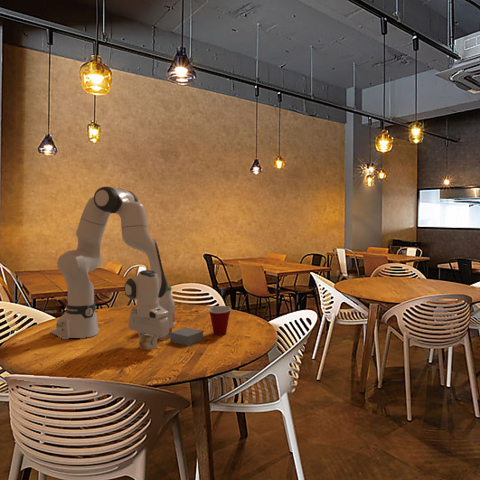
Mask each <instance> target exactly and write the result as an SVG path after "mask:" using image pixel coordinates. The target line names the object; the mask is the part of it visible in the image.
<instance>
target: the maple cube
mask: <svg viewBox="0 0 480 480" xmlns="http://www.w3.org/2000/svg"><path fill="white" fill-rule="evenodd" d="M138 339H139V340H138V341H139V342H138V343H139V344H138V345H139V346H138V347H139V349H142V350H145V351H150V350H152V349H155V348H157V347H158V343H157V344H156V345H155V346H153V345H151V341H153V335H151V334H147V333H143V335H141V336H139V335H138Z"/></svg>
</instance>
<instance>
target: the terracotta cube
mask: <svg viewBox="0 0 480 480" xmlns="http://www.w3.org/2000/svg"><path fill="white" fill-rule="evenodd" d="M171 332H173V328H172V327H170V326H169V333H168V335H167V336H164V337H158V339H157V340H161V341H166V340H170V333H171Z"/></svg>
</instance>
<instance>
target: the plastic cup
mask: <svg viewBox="0 0 480 480" xmlns="http://www.w3.org/2000/svg"><path fill="white" fill-rule="evenodd" d="M231 310H232V308H231V307H230V306H227V305H217V306H212V307H209V308H208V309H207V311H208V312H209V316H210V321H211V327H212V332H213V334H214V335H215V336H225V335H226V334H227V329H228V327H229V326H228V325H229V321H230V320H229V319H230V314H231ZM224 334H225V335H224Z"/></svg>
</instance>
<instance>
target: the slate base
mask: <svg viewBox="0 0 480 480" xmlns="http://www.w3.org/2000/svg"><path fill="white" fill-rule="evenodd" d="M169 340H170V342H171V343H173V344H174V343H175V344H179V345H183V346H185V347H186V346H187V347H189V346H191V345H194V344H196V343H199V342H202V341H204V330H199V329H197V328H190V327H183V328H181V329H177V330H174V331H172V332H171V333H170V339H169Z"/></svg>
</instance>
